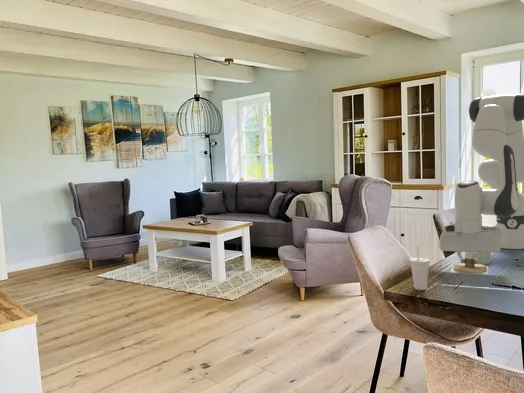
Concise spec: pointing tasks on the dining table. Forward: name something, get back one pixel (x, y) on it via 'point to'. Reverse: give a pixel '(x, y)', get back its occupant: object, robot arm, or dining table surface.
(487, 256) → the bowl
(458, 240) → the robot arm
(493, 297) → the dining table surface
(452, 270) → the mat
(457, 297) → the dining table surface
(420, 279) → the smoothie
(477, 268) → the lid
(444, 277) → the dining table surface
